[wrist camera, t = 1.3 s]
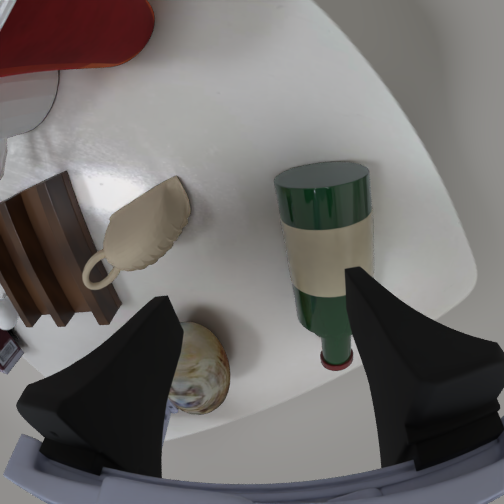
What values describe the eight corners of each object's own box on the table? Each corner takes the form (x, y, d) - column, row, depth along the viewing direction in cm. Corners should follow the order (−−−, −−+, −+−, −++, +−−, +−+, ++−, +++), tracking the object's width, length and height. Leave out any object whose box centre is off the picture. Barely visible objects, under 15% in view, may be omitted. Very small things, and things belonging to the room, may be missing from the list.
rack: (121, 304, 26) (109, 324, 23) (39, 311, 28) (26, 327, 25) (66, 170, 20) (44, 181, 17) (-10, 208, 22) (-28, 220, 19)
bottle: (277, 168, 20) (267, 194, 15) (360, 158, 18) (380, 181, 14) (305, 337, 27) (301, 387, 22) (365, 332, 26) (373, 381, 21)
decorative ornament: (206, 222, 22) (189, 259, 17) (122, 263, 24) (94, 301, 19) (179, 174, 20) (152, 199, 15) (96, 222, 22) (61, 255, 17)
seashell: (159, 303, 26) (129, 372, 18) (222, 299, 25) (206, 375, 18) (188, 372, 30) (172, 436, 23) (241, 372, 29) (234, 439, 22)
